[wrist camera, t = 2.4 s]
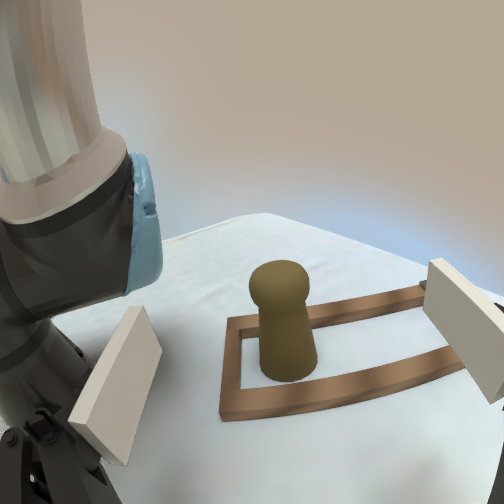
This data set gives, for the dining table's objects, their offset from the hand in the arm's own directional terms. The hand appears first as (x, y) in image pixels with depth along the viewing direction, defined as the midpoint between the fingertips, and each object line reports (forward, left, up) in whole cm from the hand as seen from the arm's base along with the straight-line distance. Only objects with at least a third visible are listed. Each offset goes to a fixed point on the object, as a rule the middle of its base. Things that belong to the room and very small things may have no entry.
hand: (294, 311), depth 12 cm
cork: (0, +12, -15) cm, 19 cm away
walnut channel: (+6, +12, -15) cm, 20 cm away
